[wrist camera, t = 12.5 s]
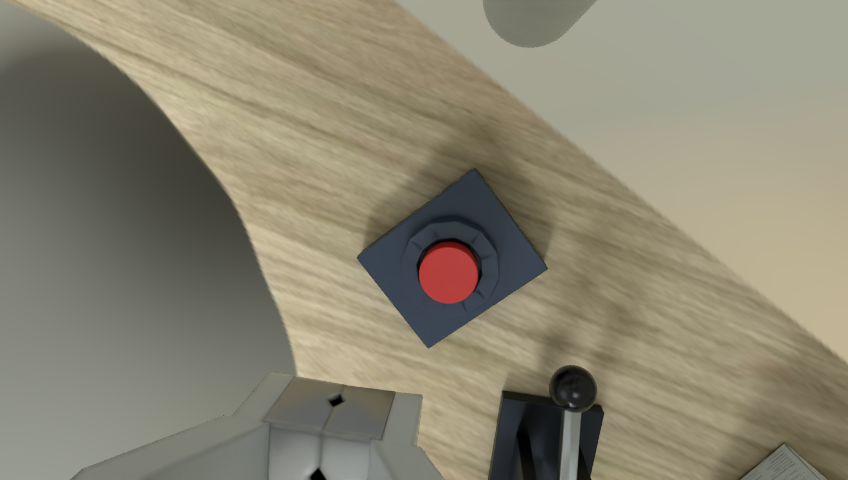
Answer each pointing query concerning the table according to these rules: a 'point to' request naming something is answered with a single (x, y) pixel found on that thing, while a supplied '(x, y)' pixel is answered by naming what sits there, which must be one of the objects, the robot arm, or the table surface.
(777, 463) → the light bulb box
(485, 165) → the table surface
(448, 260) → the button
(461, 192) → the button block
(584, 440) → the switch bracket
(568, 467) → the switch lever
